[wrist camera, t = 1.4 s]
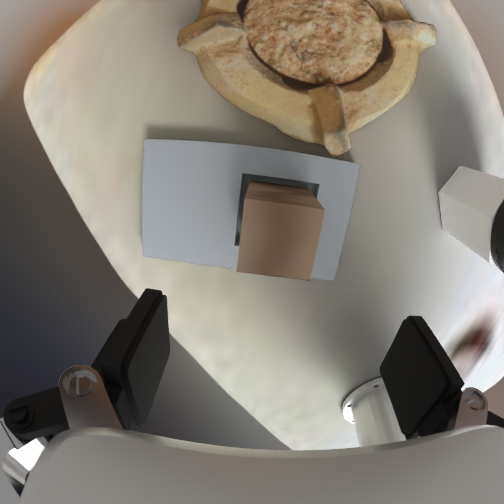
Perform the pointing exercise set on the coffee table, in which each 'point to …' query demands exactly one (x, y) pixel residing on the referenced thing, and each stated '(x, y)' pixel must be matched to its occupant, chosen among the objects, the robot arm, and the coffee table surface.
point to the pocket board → (233, 198)
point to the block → (279, 230)
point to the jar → (475, 212)
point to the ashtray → (309, 61)
